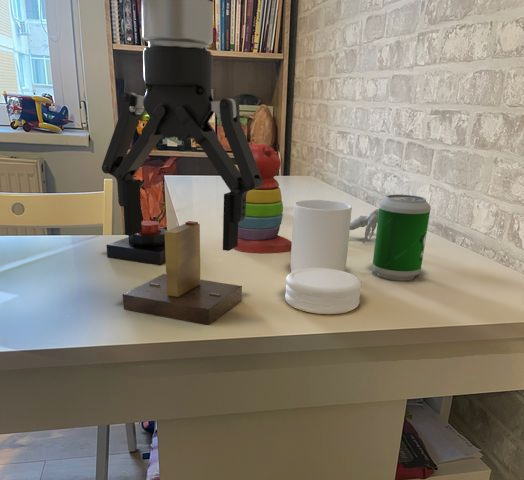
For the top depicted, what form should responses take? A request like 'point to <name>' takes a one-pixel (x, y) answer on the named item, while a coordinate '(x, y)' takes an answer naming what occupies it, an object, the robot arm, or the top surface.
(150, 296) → the plate
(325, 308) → the coaster
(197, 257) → the lock turn
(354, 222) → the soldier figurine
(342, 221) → the mug
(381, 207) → the soda can
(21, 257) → the top surface
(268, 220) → the stacking bear
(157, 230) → the release button
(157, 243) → the release box
